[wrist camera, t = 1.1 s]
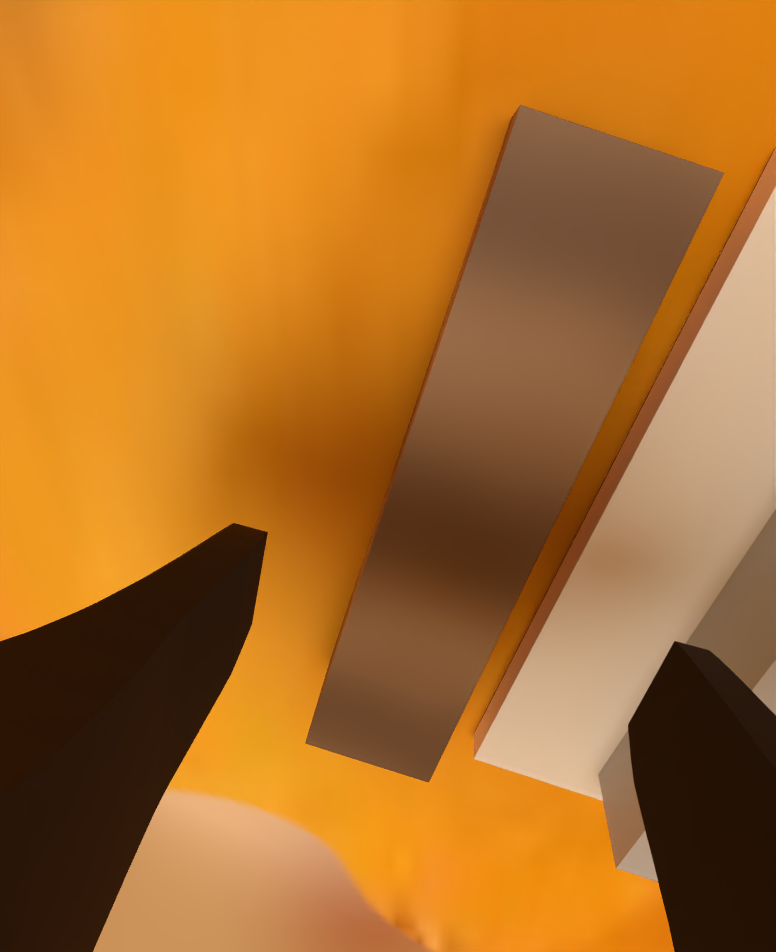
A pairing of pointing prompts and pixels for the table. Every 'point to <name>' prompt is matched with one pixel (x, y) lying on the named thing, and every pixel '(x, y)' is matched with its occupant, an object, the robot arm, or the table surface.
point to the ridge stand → (661, 551)
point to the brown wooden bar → (503, 424)
